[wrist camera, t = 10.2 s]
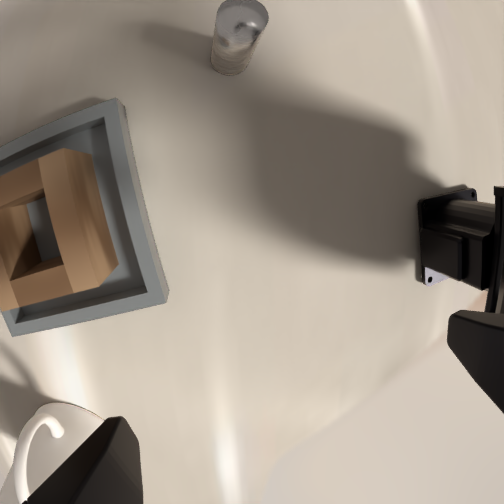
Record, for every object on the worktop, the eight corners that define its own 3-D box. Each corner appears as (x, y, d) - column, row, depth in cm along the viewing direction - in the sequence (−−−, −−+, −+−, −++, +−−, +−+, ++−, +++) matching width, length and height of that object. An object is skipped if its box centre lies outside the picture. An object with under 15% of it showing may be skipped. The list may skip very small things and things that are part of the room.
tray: (124, 106, 15) (116, 97, 13) (169, 290, 18) (166, 302, 16) (-19, 168, 14) (-37, 168, 12) (25, 324, 17) (12, 337, 15)
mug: (21, 355, 17) (-58, 463, 6) (126, 384, 19) (94, 532, 8) (43, 454, 19) (10, 549, 8) (128, 477, 21) (118, 585, 10)
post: (244, 41, 16) (262, -5, 10) (252, 72, 16) (273, 33, 11) (207, 46, 15) (212, -1, 10) (214, 78, 16) (222, 38, 11)
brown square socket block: (119, 263, 17) (99, 286, 13) (32, 287, 16) (1, 311, 12) (91, 154, 15) (63, 147, 11) (5, 189, 14) (-32, 193, 11)
